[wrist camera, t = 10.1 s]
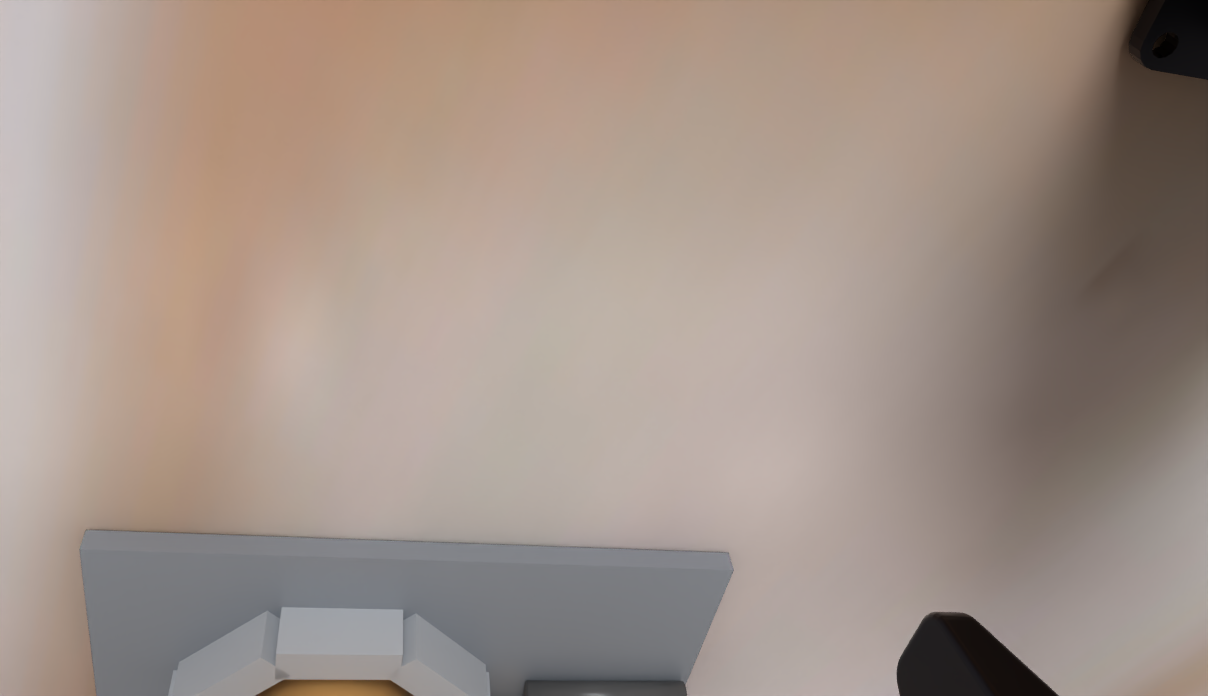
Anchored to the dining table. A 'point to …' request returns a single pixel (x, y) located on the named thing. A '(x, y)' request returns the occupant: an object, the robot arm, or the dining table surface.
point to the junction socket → (392, 615)
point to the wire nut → (335, 688)
